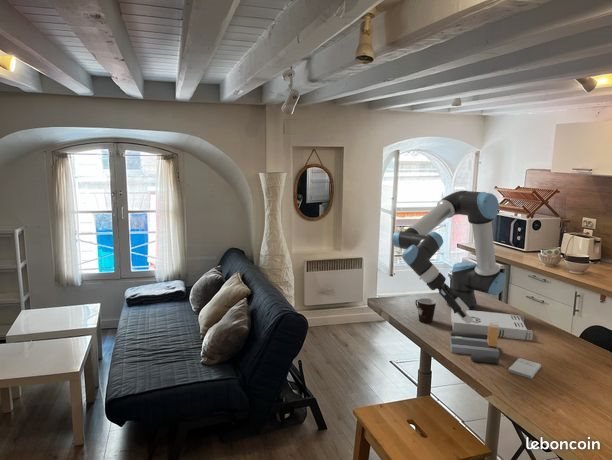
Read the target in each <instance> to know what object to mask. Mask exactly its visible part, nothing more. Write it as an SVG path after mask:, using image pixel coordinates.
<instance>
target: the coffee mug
mask: <svg viewBox="0 0 612 460" xmlns="http://www.w3.org/2000/svg"><path fill="white" fill-rule="evenodd" d="M415 305H416V308H417V310H418V311H417V312H418V322H420V323H422V324H427V323H428V324H432V323H433V320H434V316H435V311H436V310H435V309H436V305H437V300H435V299H432V298H427V297H426V298H425V297H422V298H421V297H420V298H418V299H415Z"/></svg>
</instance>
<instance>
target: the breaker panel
mask: <svg viewBox="0 0 612 460" xmlns="http://www.w3.org/2000/svg"><path fill="white" fill-rule="evenodd" d="M448 342H449V347H450V351H451V353H453V354H454V353H455V354H463V355H471V356H472V355H480V356H489V357H497V358H498V359H500V350H499V348H498V346H497V347H494V346H489V345H488V343H487V340H485V339H475V338H466V337H458V336H451V335H449V341H448Z"/></svg>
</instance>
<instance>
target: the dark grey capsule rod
mask: <svg viewBox="0 0 612 460" xmlns="http://www.w3.org/2000/svg"><path fill="white" fill-rule="evenodd" d="M470 360H471V361H472V362H475V363H476V362H477V363H478V362H479V363H487V364H494V365H495V364H499V363H500V358H497V357H489V356H480V355H471V356H470Z"/></svg>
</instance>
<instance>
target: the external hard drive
mask: <svg viewBox="0 0 612 460" xmlns="http://www.w3.org/2000/svg"><path fill="white" fill-rule="evenodd" d="M541 368H542V364H541V363H538V362H535V361H531V360H528V359H524V358H521V357H518V358H517V359H516V360H515V361H514V362H513V363H512V364H511V365H510V367H509V368H508V369H507V372H509V373H512V374H515V375H518V376H522V377H525V378H528V379H531V380H532V379H533V378H534V376H535V375H536V374H537V373H538V372H539V370H540V369H541Z"/></svg>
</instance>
